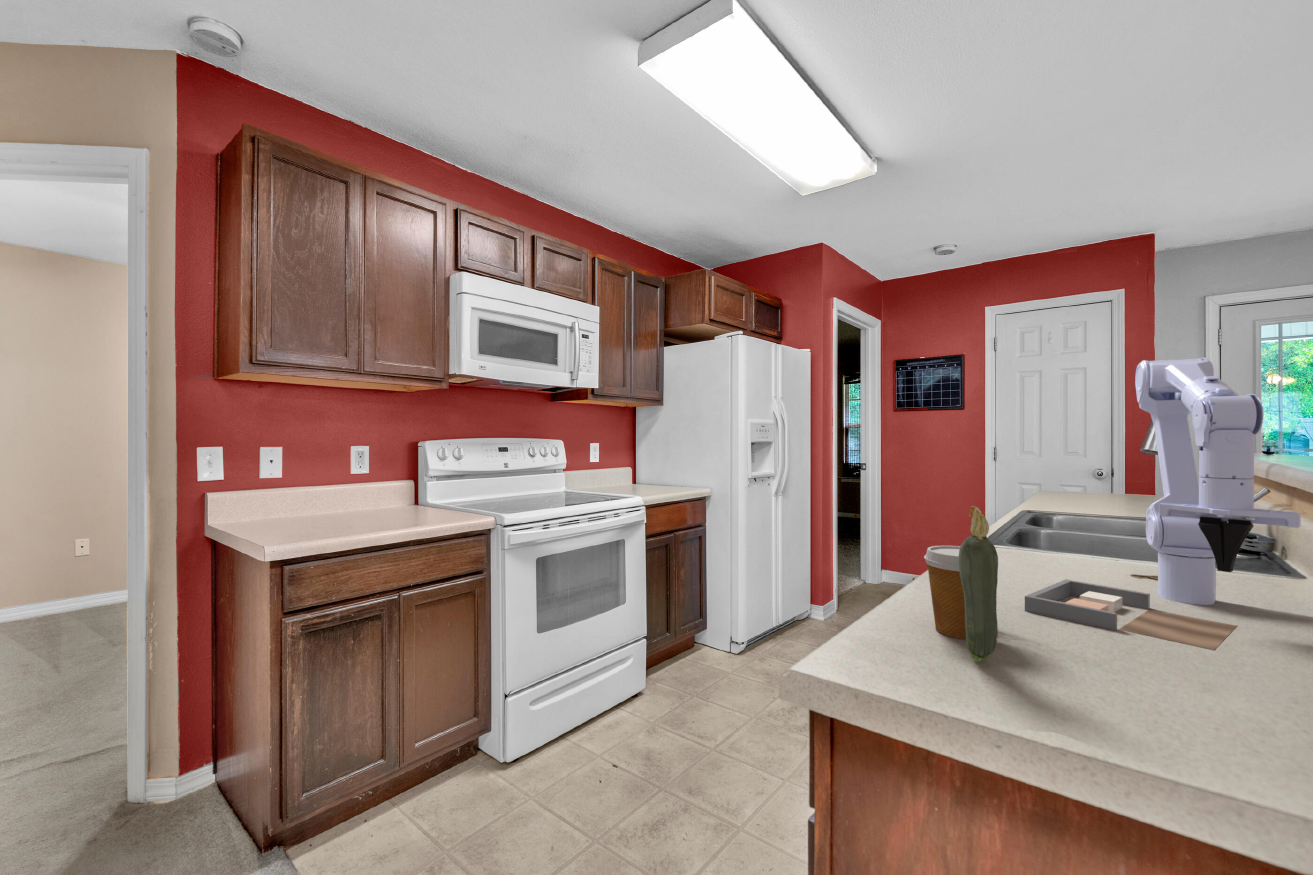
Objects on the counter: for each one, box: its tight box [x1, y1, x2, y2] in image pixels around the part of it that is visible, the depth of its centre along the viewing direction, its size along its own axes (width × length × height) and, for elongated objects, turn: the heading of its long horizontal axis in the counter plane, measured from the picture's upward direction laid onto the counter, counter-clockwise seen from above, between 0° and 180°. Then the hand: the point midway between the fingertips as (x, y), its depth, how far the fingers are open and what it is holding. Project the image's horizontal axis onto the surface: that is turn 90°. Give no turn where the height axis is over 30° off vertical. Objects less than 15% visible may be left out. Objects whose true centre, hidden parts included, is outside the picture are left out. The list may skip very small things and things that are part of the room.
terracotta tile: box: [1064, 598, 1108, 611], centre depth 89 cm, size 4×4×2 cm
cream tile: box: [1079, 591, 1123, 613], centre depth 94 cm, size 4×4×2 cm
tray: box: [1024, 578, 1151, 632], centre depth 92 cm, size 18×12×4 cm, turn 127°
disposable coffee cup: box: [923, 545, 966, 640], centre depth 85 cm, size 10×10×12 cm
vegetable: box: [959, 505, 999, 663], centre depth 73 cm, size 4×4×20 cm
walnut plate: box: [1118, 608, 1238, 651], centre depth 84 cm, size 16×10×1 cm, turn 127°
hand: (1225, 570), depth 84 cm, fingers closed
